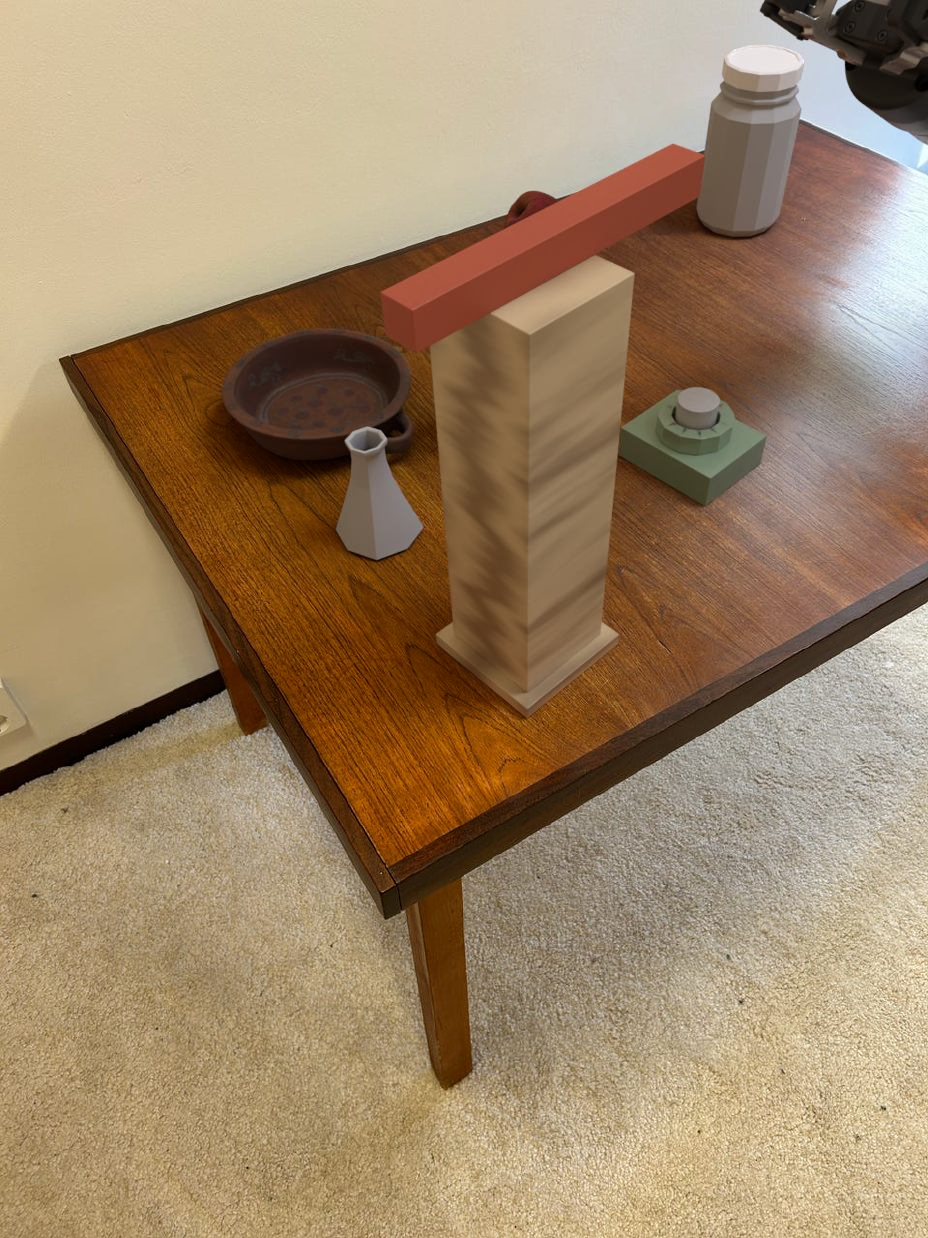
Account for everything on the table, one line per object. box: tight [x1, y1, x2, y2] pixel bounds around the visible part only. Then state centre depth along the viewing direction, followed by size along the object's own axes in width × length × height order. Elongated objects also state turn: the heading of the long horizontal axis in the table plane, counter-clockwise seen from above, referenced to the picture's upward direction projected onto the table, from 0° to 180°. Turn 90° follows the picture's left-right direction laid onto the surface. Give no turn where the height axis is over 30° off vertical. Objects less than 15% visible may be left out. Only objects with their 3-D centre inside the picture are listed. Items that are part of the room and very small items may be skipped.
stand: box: [429, 254, 636, 719], centre depth 63 cm, size 10×10×31 cm
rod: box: [379, 143, 705, 354], centre depth 51 cm, size 2×22×2 cm, turn 133°
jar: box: [696, 44, 805, 238], centre depth 110 cm, size 10×10×18 cm
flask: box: [335, 427, 424, 561], centre depth 80 cm, size 7×7×10 cm
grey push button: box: [675, 386, 721, 430], centre depth 84 cm, size 4×4×2 cm
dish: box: [221, 328, 415, 461], centre depth 93 cm, size 18×22×5 cm
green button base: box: [617, 389, 768, 507], centre depth 86 cm, size 10×8×5 cm
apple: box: [503, 190, 560, 230], centre depth 110 cm, size 7×8×8 cm
